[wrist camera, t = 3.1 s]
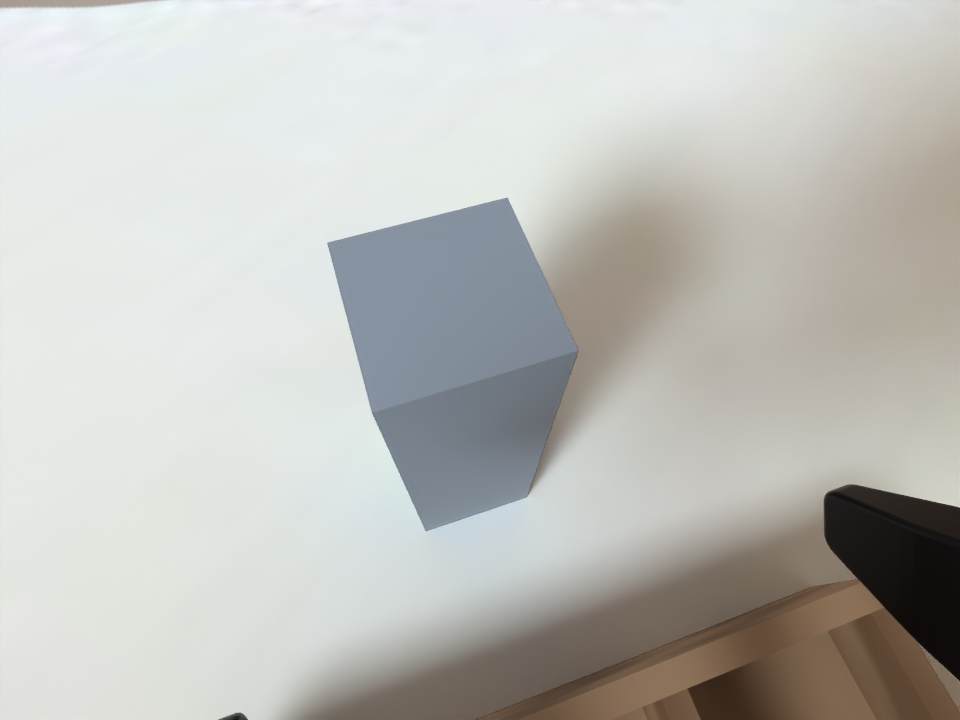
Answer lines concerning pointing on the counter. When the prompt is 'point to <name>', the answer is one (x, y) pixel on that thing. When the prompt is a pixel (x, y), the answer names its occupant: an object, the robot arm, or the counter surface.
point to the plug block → (457, 354)
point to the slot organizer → (766, 670)
